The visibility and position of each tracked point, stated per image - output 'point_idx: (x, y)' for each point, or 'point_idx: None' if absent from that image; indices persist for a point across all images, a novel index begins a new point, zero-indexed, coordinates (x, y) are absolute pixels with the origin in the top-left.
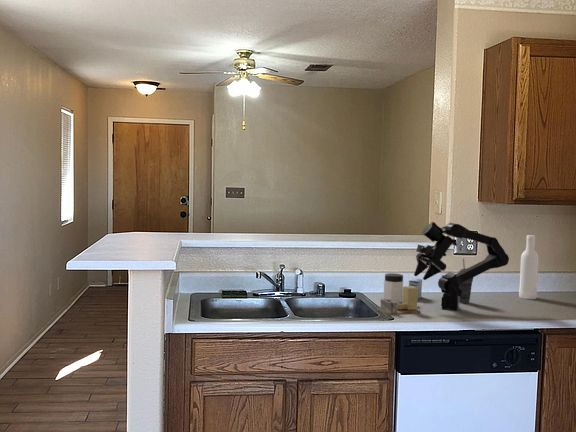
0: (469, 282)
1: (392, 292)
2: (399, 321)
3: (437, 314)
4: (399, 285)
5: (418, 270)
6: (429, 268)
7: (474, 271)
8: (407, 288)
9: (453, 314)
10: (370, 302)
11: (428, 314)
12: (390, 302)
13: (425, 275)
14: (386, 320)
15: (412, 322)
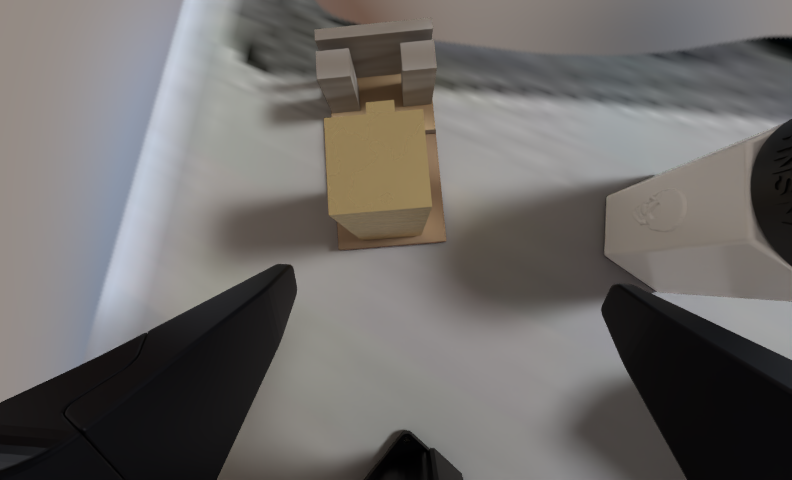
0: None
1: (657, 185)
2: (203, 73)
3: (289, 328)
4: (712, 227)
5: (697, 384)
6: (4, 415)
7: None
8: (343, 118)
9: (270, 424)
10: (622, 87)
11: (299, 278)
12: (402, 80)
13: (227, 291)
14: (233, 25)
15: (171, 123)
